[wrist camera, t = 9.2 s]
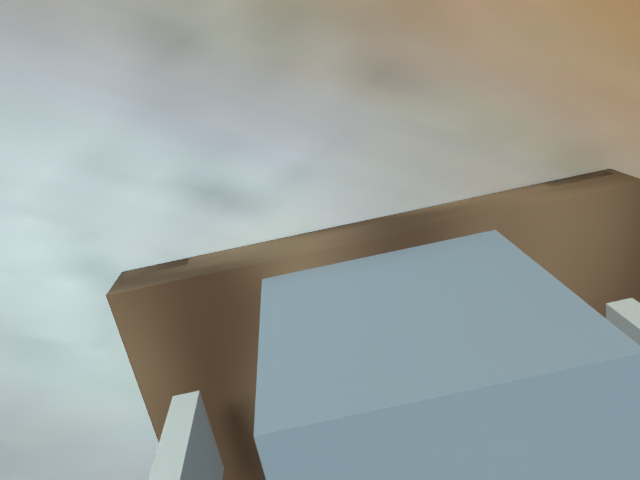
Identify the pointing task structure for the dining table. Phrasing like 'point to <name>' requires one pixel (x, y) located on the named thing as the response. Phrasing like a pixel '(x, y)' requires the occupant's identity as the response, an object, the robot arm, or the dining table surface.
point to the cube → (442, 371)
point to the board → (339, 246)
